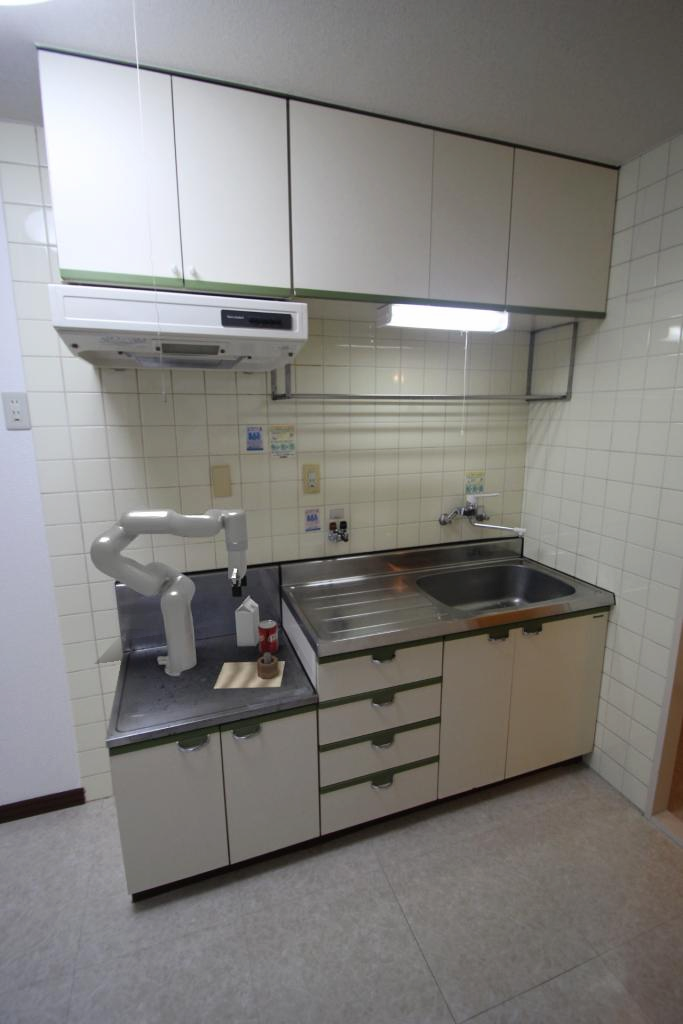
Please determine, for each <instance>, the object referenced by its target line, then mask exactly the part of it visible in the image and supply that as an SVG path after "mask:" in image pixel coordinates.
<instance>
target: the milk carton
mask: <svg viewBox="0 0 683 1024" xmlns="http://www.w3.org/2000/svg"><path fill="white" fill-rule="evenodd" d="M259 609H260V608H259V604H258V603H257V602H255V601H254V600H253V599H252V598H251V596H250V595H248V596H247V597H246V598H245V599H244V601H242V603H241V605H240V606H239V607H238V608H237V609H236V610H235V611H234V614H235V615H234V616H235V617H234V618H235V630H236V640H237V641H236V642H237V647H256V646H258V645H259V635H258V625H259V623H261V621H260V610H259Z"/></svg>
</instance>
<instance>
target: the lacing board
mask: <svg viewBox="0 0 683 1024" xmlns="http://www.w3.org/2000/svg"><path fill="white" fill-rule="evenodd" d="M271 655H272V654H271V653H269V652H266V653H264V654H263V656H264V664H270V663H271ZM285 662H286V661H285V660H280V661H279V660H278V676H276V677H274V678H272V679H261V678H260V677H258V672H257V661H247V662H246V661H242V662H236V661H235V662H224V663H223V665H222V668H221V670H220V672H219V675H218V678H217V679H216V682H215V684H214V687H213V689H214V690H216V689H251V688H253V689H254V688H256V689H257V688H280V687H281V686H282V679H283V674H284V668H285V665H286V664H285Z"/></svg>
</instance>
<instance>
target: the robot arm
mask: <svg viewBox="0 0 683 1024" xmlns="http://www.w3.org/2000/svg"><path fill="white" fill-rule="evenodd" d="M221 530H224V536H225V537H224V539H225V540H224V541H225V550H226V552H228V554H227V574H228V575H227V576H228V577H227V578H228V579H229V580H231V591H232V592H231V593H232V597H233V598H241V597H243V592H242V591H243V590H242V587H247V586H248V579H247V570H248V569H247V565H248V564H247V563H248V561H247V552H246V551H247V550H249V543H248V542H249V541H248V540H249V539H248V526H247V513H246V512H245V510H243V509H238V508H237V509H236V508H235V509H233V508H232V509H219V508H218V509H217V508H212V509H211V508H210V509H209V510H207V511H205V513H204V514H202V515H187V514H186V515H185V514H180V513H178V512H176V511H175V510H174V509H172V508H171V509H170V508H150V507H148V506H146V505H143V504H142V505H141V504H139V505H138V504H136V505H134V506H132V507H130V508H128V509H127V510H126V511H124V512H123V513H122V514H121V516H120V518H119V520H118V521H117V522H115V524H113V525H112V526H111V527H110V528H109V529H107V530H105V531H104V532H102V533H101V534H99V535H97V537H96V538H95V539H94V540H93V542H92V544H91V545H90V550H89V555H90V559H91V563H92V564H93V565H94V567H95V568H96V569H97V570H98V571H100V572H101V573H103V575H105V576H107V577H110V578H111V579H114V580H116V581H117V582H120V583H121V584H123V585H124V586H126V587H128V588H130V589H132V590H133V591H135V592H137V593H139V594H141V595H142V596H145V597H149V598H150V597H154V596H155V595H157V594H159V592H160V591H161V592H162V596H161V598H160V609H161V613H162V616H163V617H162V618H163V624H164V631H165V638H166V640H165V641H166V650H167V655H166V656H161V655H160V656H159V655H158V656H157V662H158V665H159V666H162V665H164V672H165V674H167V676H170V677H177V678H178V677H179V676H180V675H181V673H182V672H183V671H187V670H188V671H189V670H190V669H192V668H193V667H195V666H196V665H197V663H198V662H197V652H196V640H195V631H194V629H195V628H194V620H193V614H192V609H191V601H192V600H193V597H194V596H195V593H196V585H195V583H194V581H193V580H192V579H191V578H190V577H188V576H187V575H185V574H183V573H181V572H179V571H178V570H176V569H174V568H173V567H171V566H169V565H168V564H165V563H163V562H159V561H154V562H153V561H152V562H149V563H147V564H146V565H144V564H141V563H139V562H138V561H137V560H135V559H133V558H131V557H127V556H123V555H122V554H121V552H122V551H124V550H125V548H127V547H128V546H129V545H130V544H131V543H132V542H133V541H134V540H136V539H137V538H138V537H139V536H140V535H172V536H176V537H181V538H190V539H191V538H192V539H193V538H194V539H195V538H196V539H197V538H198V539H200V538H212V537H214V536H217V535H218V534H219V533H220V531H221Z"/></svg>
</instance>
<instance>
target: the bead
mask: <svg viewBox="0 0 683 1024" xmlns="http://www.w3.org/2000/svg"><path fill="white" fill-rule="evenodd" d="M278 661H279V658H278V657H276V656H275V655H272V654H271V663H270V664H264V655H263V656H261V657H259V658H257V661H256V662H257V672H258V677H260V678H261V679H272V678H274V677H276V676H278Z"/></svg>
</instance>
